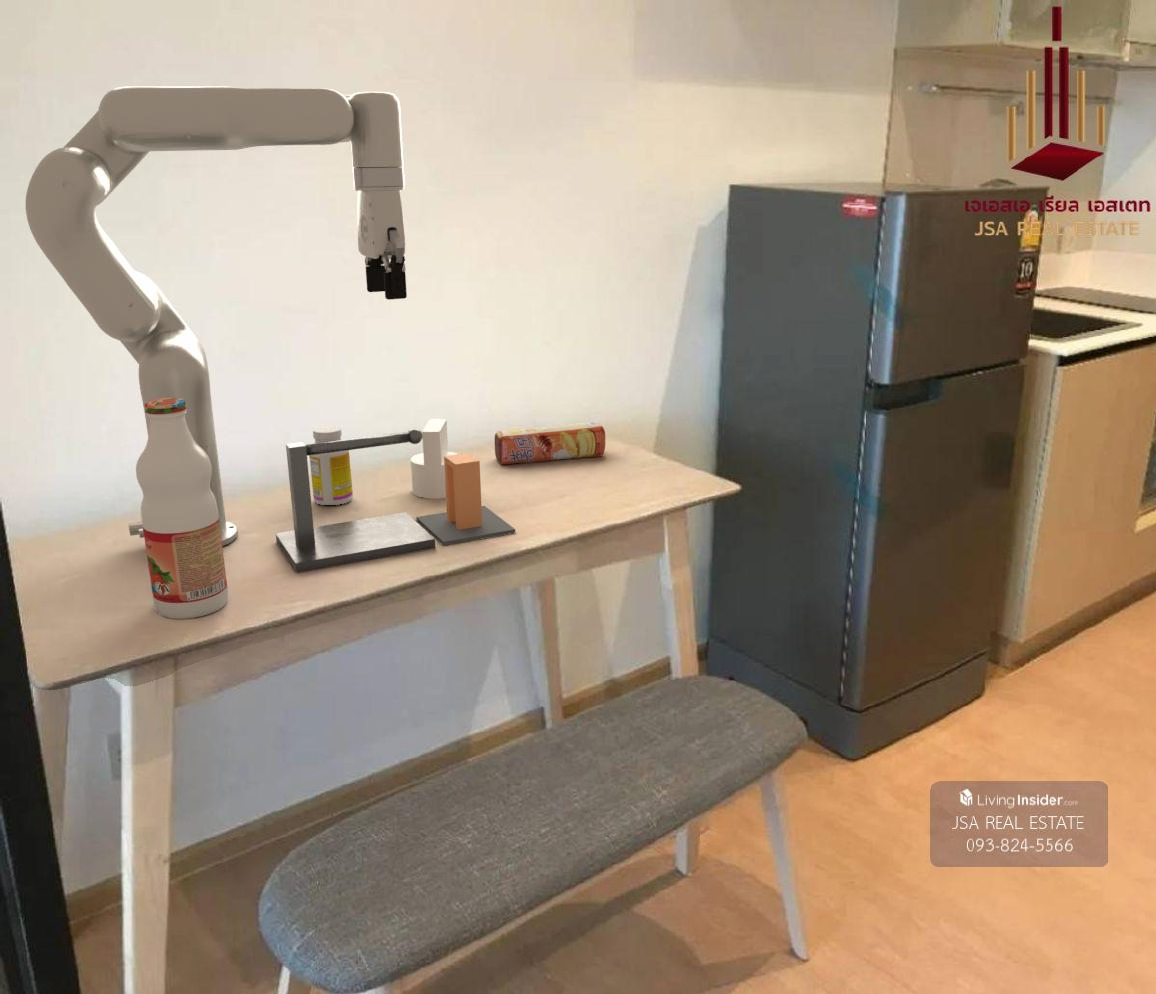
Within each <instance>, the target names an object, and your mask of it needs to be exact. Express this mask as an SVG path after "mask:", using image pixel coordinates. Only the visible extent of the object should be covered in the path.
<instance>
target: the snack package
mask: <svg viewBox="0 0 1156 994" xmlns="http://www.w3.org/2000/svg"><path fill="white" fill-rule="evenodd" d="M605 449H606V431H605V428H604V426H603V425H602V424H601V423H600V422H599V421H598V420H597V421H596V420H593V421H585V422H578V423H577V422H576V423H567V424H558V425H548V426H539V427H527V428H520V429H512V430H498V431H496V433H495V434H494V454H495V458H496V461H497V462H498V463H499V464H500V465H511V464H512V465H513V464H514V465H515V464H518V463H519V464H521V463H536V462H537V463H538V462H545V461H546V462H549V461H558V460H559V461H560V460H571V459H579V458H580V459H582V458H583V459H584V458H593V457H597V458H598V457H602V456H603V455H604V453H605Z"/></svg>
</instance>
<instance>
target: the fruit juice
mask: <svg viewBox="0 0 1156 994" xmlns="http://www.w3.org/2000/svg"><path fill="white" fill-rule="evenodd" d="M186 409H187V406H186V402H185V400H184V399H180V398H162V399H155V400H151V401H148V402H146V403H145V412H146V416H147V417H148V418H149V423H150V427H149V436H148V435H147V441H146V446H145V448H144V449H143V451H142V452H141V454H140V455H139V457H138V459H137V461H136V466H135V475H136V476H135V477H136V480H137V483H138V486H139V487H140V489H141V491H142V501H141V504H140V514H141V515H140V517H141V518H140V519H141V522H142V527H143V532H144V537H143V540H144V545H145V551H146V559H147V566H148V573H149V580H150V585H151V586H150V587H151V593H152V594H151V595H152V600H153V605H154V607H155V610H156V612H157V614H159V615H160V616H161V617H165V618H167V619H176V620H177V619H179V620H180V619H181V620H182V619H185V620H186V619H193V618H200V617H203V616H207V615H210V614H213V613H215V612H217V611H219V610H221V609H222V608H223V607H224V606H226V605H227V604H228V603H227V602H228V598H229V589H228V581H227V575H226V574H227V573H226V565H225V555H224V550H223V546H222V540H221V532H220V524H219V514H218V508H217V503H216V499H215V496H214V494H213V493H212V491H211V489H210V479H211V472H212V468H211V462H210V459H209V457H208V455H207V454H206V452H205V451H204V450H203V449H202V448H201V447H200V446H199V445H198V444H197V443H196V442H195V440H194V439H193V437H192V435H191V433H190V431H189V429H188V426H187V424H186V420H185V414H186V412H187V411H186ZM145 412H144V413H145Z"/></svg>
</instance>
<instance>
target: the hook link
mask: <svg viewBox="0 0 1156 994" xmlns="http://www.w3.org/2000/svg"><path fill="white" fill-rule="evenodd" d="M480 462H481V461H480V460H479V459H477V458H476V457H475V456H473V455H472V454H470V453H468V452H465V453H464V452H463V453H457V454H456V455H449V456H444V467H445V487H446V498H445V501H446V502H445V503H446V505H445V506H446V512H447V520H448V521H449V522H455V521H456V528H457V529H458V530H461V529H467V528H473V527H478V526H482V508H481V506H482V490H481V487H482V486H481V485H482V484H481V483H482V482H481V466H480V465H481V463H480Z"/></svg>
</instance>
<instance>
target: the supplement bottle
mask: <svg viewBox="0 0 1156 994" xmlns="http://www.w3.org/2000/svg"><path fill="white" fill-rule="evenodd" d="M312 433H313V435H312V437H313V439H314V443H313V444H316V443H324V442H332V441H340V440H342V434H343V433H342V428H341V427H340V426H337V425H336V426H335V425H328V426H327V425H325V426H319V427H316V428H314V429H313V430H312ZM350 458H351V457H350V450H346V451H339V452H331V453H324V454H316V455H309V466H310V475H311V485H312V486H311V487H312V496H313V500H314V502H315V503H316V504H317V505H319V504H320V506H323V505H336V506H341V505H340V504H342V505H345V504H348V503H349V502H351V501H352V500H353V497H354V494H353V493H354V491H353V482H352V470H351V459H350ZM347 502H348V503H347ZM344 503H345V504H344Z"/></svg>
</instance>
